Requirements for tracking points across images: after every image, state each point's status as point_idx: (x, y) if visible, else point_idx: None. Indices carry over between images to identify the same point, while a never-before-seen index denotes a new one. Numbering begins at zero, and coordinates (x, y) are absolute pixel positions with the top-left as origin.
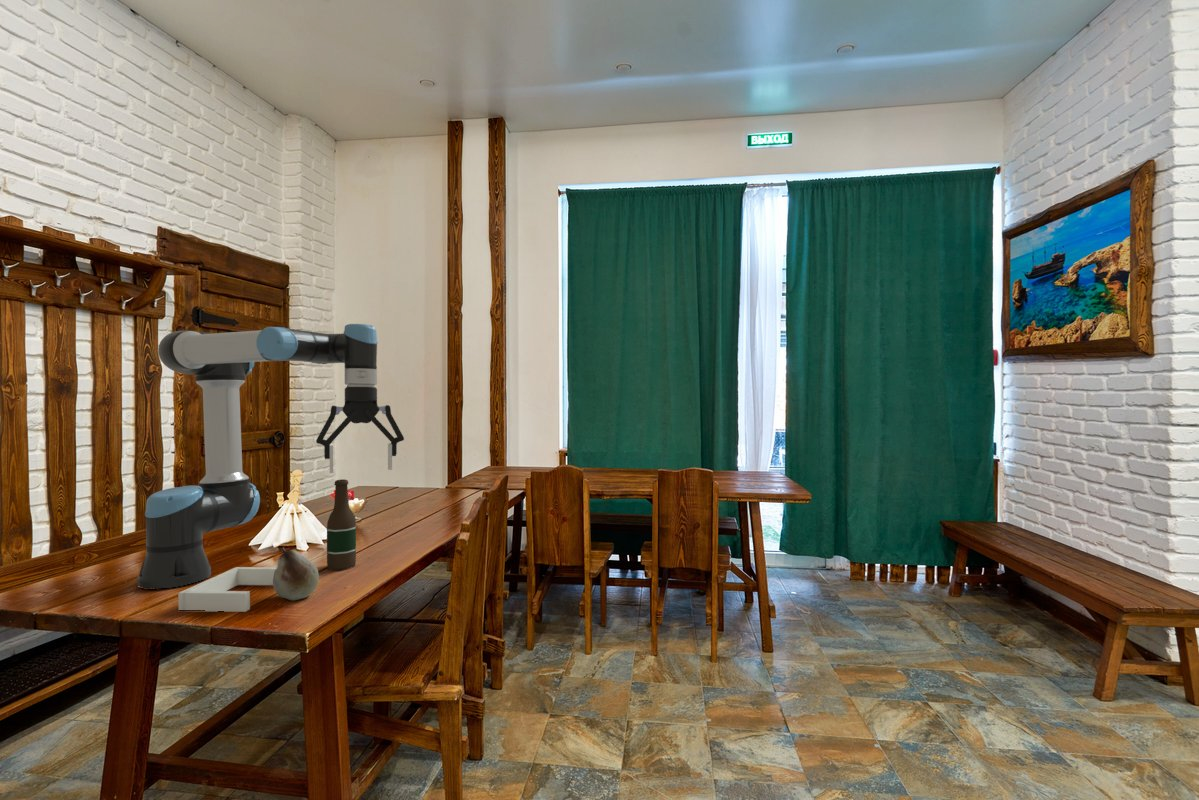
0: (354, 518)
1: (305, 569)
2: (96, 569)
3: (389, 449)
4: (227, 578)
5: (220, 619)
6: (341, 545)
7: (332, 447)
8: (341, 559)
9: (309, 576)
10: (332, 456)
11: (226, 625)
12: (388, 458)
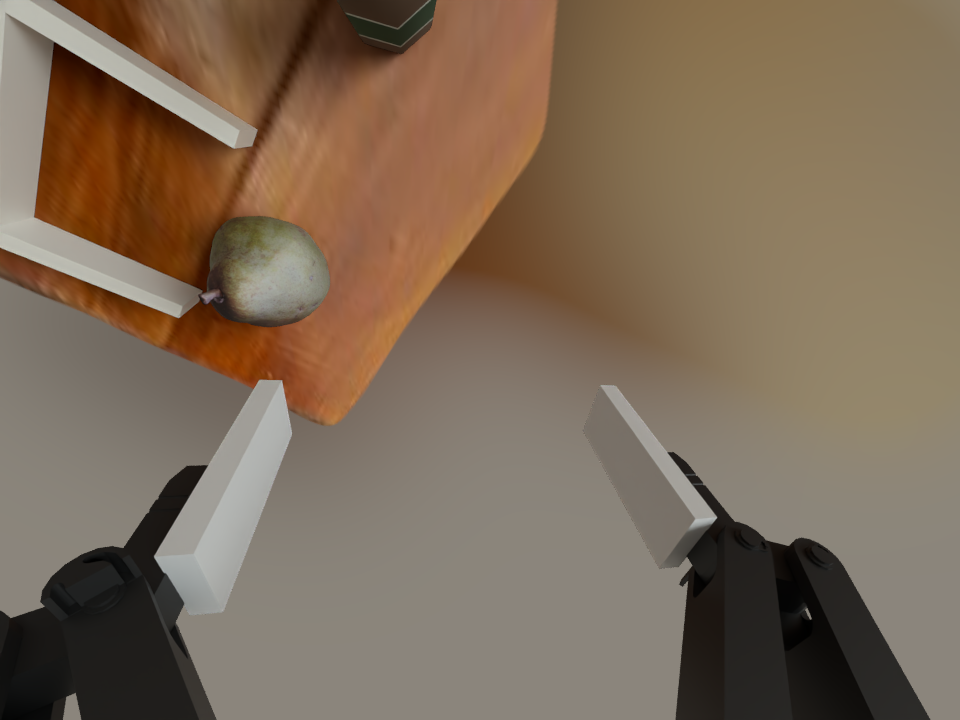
0: None
1: (295, 319)
2: None
3: (641, 531)
4: (16, 76)
5: (161, 321)
6: (379, 35)
7: (222, 599)
8: (383, 45)
9: (309, 314)
10: (252, 523)
11: (190, 355)
12: (617, 458)
